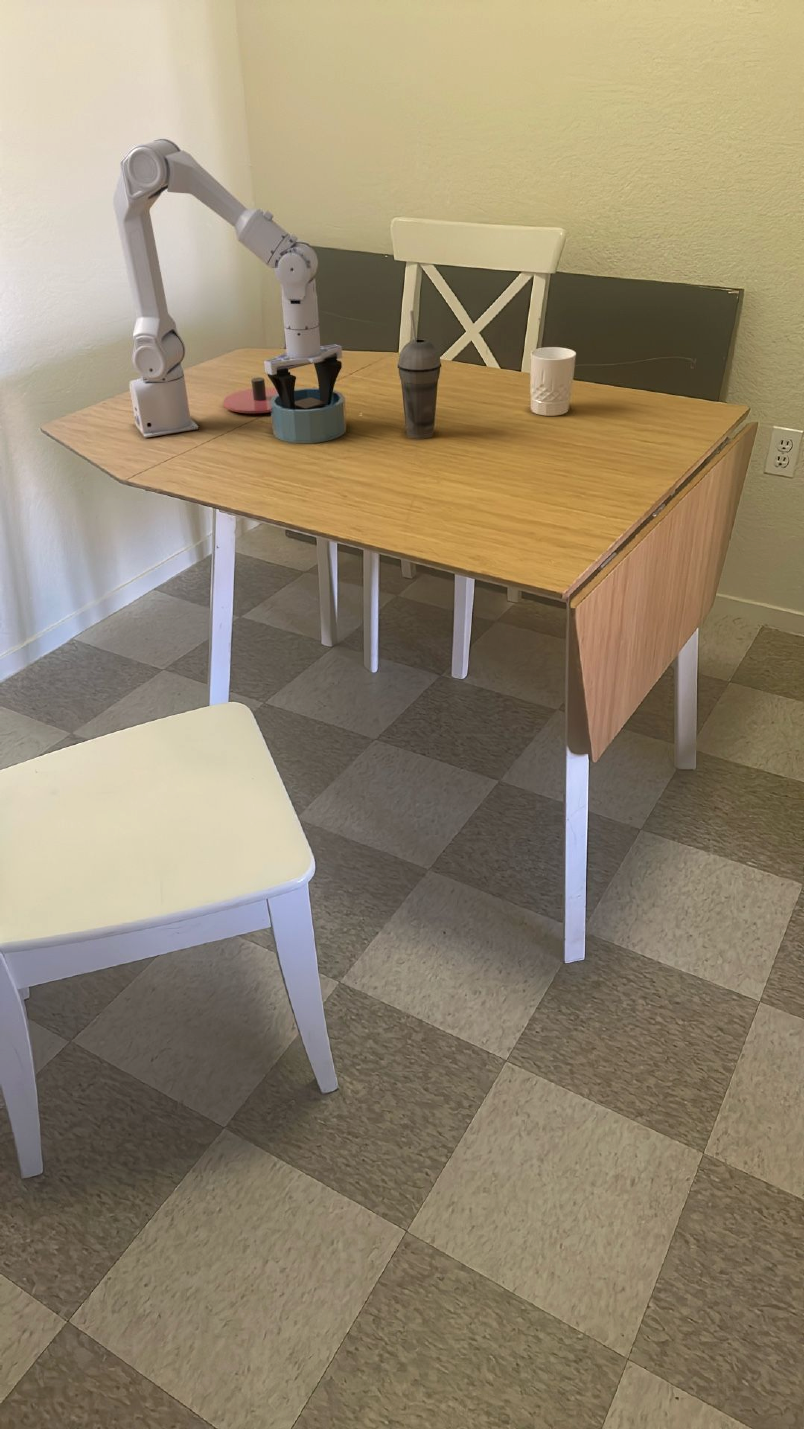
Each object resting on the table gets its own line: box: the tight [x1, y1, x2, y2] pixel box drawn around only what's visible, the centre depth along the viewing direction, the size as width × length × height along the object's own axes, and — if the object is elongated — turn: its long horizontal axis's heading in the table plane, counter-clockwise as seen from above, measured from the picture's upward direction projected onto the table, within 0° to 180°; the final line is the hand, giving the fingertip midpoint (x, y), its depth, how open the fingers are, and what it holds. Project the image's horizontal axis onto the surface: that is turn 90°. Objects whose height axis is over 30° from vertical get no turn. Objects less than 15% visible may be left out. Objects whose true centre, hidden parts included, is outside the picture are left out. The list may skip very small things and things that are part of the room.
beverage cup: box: [397, 310, 442, 440], centre depth 161 cm, size 7×7×20 cm
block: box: [295, 397, 326, 410], centre depth 168 cm, size 4×4×4 cm
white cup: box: [529, 346, 577, 417], centre depth 172 cm, size 8×8×10 cm
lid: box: [222, 376, 278, 414], centre depth 180 cm, size 14×14×5 cm
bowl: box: [270, 387, 347, 444], centre depth 168 cm, size 13×13×6 cm
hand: (307, 408), depth 167 cm, fingers open, 7 cm apart
